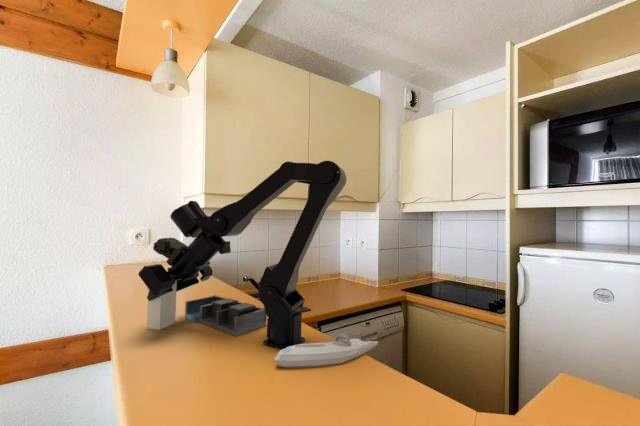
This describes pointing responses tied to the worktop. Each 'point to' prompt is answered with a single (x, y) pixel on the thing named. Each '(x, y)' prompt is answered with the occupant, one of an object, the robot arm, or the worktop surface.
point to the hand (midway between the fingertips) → (157, 296)
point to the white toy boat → (323, 352)
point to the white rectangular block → (162, 310)
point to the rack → (225, 314)
